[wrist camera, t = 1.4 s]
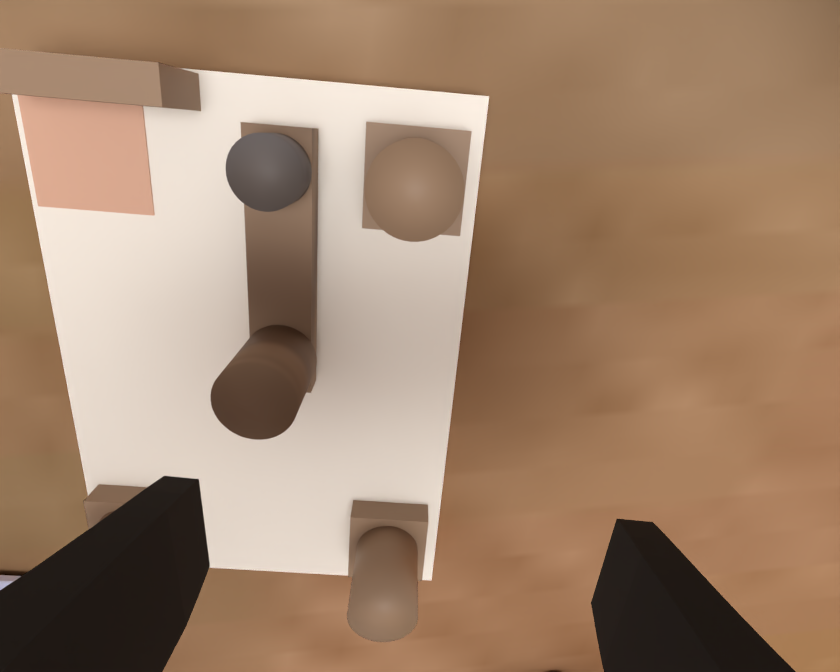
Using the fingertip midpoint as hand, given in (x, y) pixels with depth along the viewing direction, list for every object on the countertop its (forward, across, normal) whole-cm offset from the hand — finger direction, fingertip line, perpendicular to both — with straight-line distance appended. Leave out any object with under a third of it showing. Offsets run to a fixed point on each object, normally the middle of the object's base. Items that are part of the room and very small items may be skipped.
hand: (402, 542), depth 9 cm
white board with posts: (+11, +6, +2) cm, 12 cm away
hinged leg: (+9, +5, -2) cm, 11 cm away
